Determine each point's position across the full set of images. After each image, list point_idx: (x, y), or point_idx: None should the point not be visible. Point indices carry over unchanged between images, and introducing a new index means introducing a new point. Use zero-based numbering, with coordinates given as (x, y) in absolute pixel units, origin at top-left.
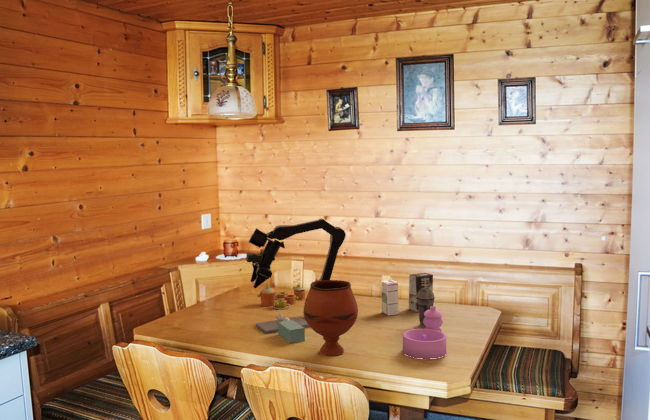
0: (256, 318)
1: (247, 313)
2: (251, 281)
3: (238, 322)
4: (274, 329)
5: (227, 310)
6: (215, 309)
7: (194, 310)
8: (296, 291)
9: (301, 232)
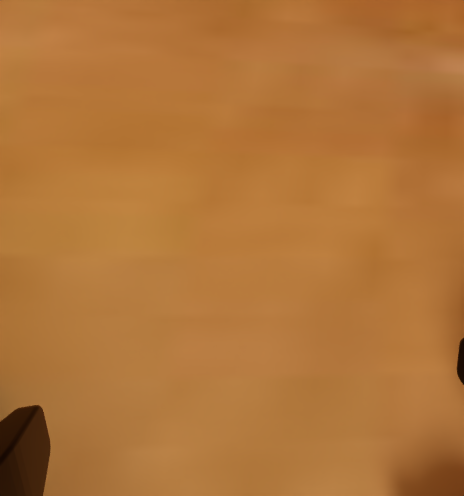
0: (200, 381)
1: (340, 310)
2: (462, 353)
3: (117, 244)
4: None
5: (418, 179)
6: (442, 111)
7: (425, 3)
8: None
9: None
